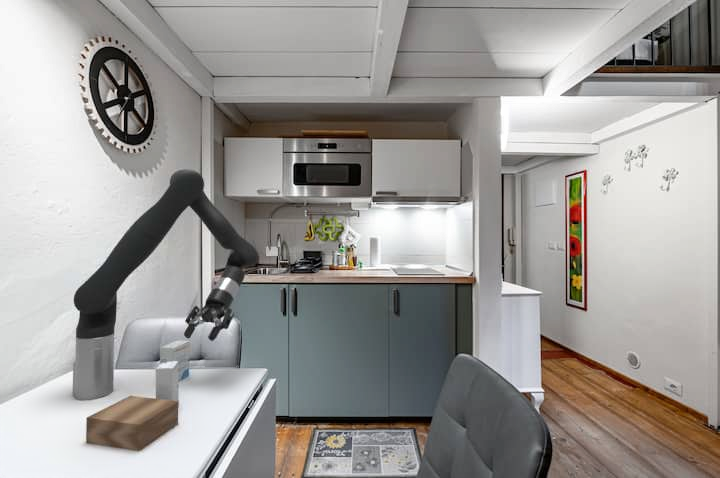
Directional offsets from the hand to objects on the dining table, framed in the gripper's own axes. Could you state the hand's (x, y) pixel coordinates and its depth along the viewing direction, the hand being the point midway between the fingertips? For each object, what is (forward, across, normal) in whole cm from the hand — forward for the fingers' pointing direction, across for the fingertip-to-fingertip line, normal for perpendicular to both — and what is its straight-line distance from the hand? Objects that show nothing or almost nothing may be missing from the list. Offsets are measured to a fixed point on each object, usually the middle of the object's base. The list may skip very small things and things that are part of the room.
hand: (198, 338), depth 110 cm
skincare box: (+20, 0, +3) cm, 20 cm away
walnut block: (+28, +2, -5) cm, 29 cm away
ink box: (+7, -14, +16) cm, 23 cm away
